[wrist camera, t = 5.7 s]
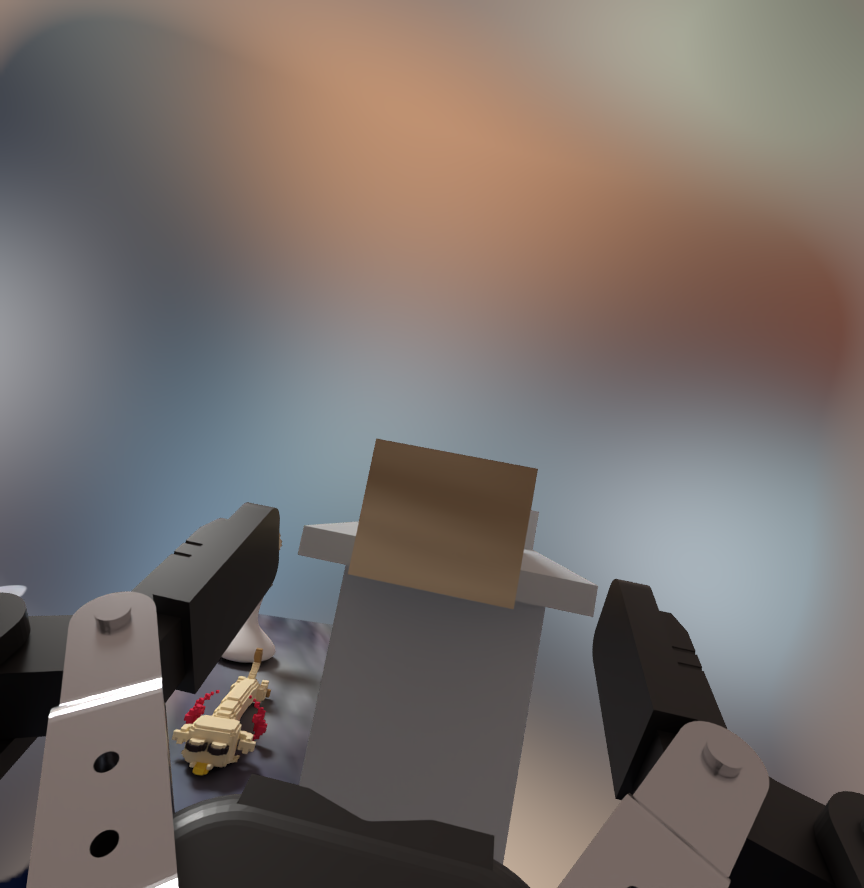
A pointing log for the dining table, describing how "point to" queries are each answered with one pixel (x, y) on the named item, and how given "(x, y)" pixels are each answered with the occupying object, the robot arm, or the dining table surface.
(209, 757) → the beige blocky figure
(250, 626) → the flower in vase
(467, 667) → the white plinth column
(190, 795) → the dining table surface
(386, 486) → the brown wooden block
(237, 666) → the dining table surface
